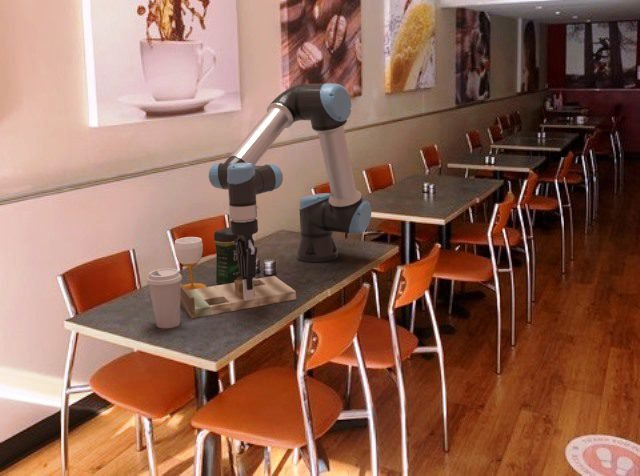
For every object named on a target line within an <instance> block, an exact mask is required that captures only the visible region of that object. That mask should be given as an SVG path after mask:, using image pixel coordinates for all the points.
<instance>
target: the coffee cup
mask: <svg viewBox="0 0 640 476" xmlns="http://www.w3.org/2000/svg"><path fill="white" fill-rule="evenodd" d="M182 279H183V277H182V274H181V273H180V272H179V270H178V269H177V268H169V267H168V268H158V269H155V270H154V269H153V270H152V271H149V273H148V276H147V278H146V284H148V288H149V293H150V299H151V304H152V309H153V313H154V314H153V315H154V320H155V324H156V328H159V329H172V328H176V327H178V326H180V325H181V304H180V283H181V281H182Z"/></svg>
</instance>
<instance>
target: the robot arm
mask: <svg viewBox="0 0 640 476" xmlns="http://www.w3.org/2000/svg"><path fill="white" fill-rule="evenodd" d="M351 108H352V101H351V97H350V94H349V92H348V90H347V89H346V88H345V87H344V86H343V85H341V84H339V83H331V82H326V83H300V84H295V85H293V86H291V87H289V88H287V89H286V90H284V91H282V92H281V93H280V94H279V95H278V96H277V97H276V98H274V100H273V101H272V102H270V104H269V105H268V106H267V108H266V113H265V115H264V116H263V117H262V118H261V119H260V120H259V121H258V123H257V124H256V125H255V126H254V127H253V129H252V130H250V132H249V133H248V135H247V136H246V137H245V138H244V139H243V140H242V141H241V142H240V144H238V146H237V147H236V149H234V150H233V152H232V153H231V154H230V155H229V157H228V158H227V159H226V160H225V162H219V163H214V164H212V165H211V167H210V168H209V171H208V179H209V181H208V182H210V185H211V186H212V187H214V188H216V189H220V190H228V202H229V203H228V207H229V209H228V211H229V218H230V220H231V221H230V227H231V233H232V234H234V235H237V239H235V240H234V242H235V246H236V252H237V259H238V266H239V273H241V276H242V281H243V296H244V300H245V301H248V300H253V299H254V286H253V279H256V276H257V254H258V247H256V246H255V239H253V235H255V234H257V233H258V231H259V227H258V219H257V217H258V212H257V210H258V209H259V206H258V205H257V195H261V194H264V193H268V192H273V191H274V190H276V189H279V188H280V187H281V186H282V184H283V180H284V176H283V171H282V170H281V168H280V167H279V166H277V165H276V164H273V163H272V164H264V165H256V164H258V162H259V161H260V160H261V158H262V157H263V156H264V155H265V153H266V152H267V151H268V150H269V148H270V147H271V146H272V145H273V144H274V143H275V141H276V140H277V139H278V137H279V136H280V135H282V132H284V130H285V129H288V128H290V127H291V126H292V125H293V124H294V123H296V122H299V121H310V124H311V128H312V130H313V131H314V132H317V134H318V139H319V143H320V148H321V152H322V157H323V158H322V159H323V162H324V166H325V171H326V174H327V179H328V180H327V181H328V183H329V188H330V189H329V190H330V193H329V192H327V193H326V192H325V193H315V194H310V195H306V196H303V197H301V198H300V200H299V208H298V210H299V223H300V227H299V228H300V229H299V230H300V239H299V243H298V246H297V249H296V258H297V260H299V261H300V262H306V263H325V262H330V261H334V260H336V259H337V258H338V257H339V249H338V247H337V245H336V241H335V239H334V236H333V232H335V233H341V234H343V233H345V234H350V235H361V234H363V233H365V231H366V230H367V228H368V227H369V225H370V222H371V217H372V207H371V204H370V202H369V201H367V200H366V201H365V200H363V195H362V193H361V191H359V190H357V188H356V182H355V177H354V173H353V168H352V162H351V158H350V153H349V149H348V148H349V147H348V143H347V138H346V132H345V128H344V127H345V125H347V123H348V119H349V117H350V116H351V112H352V109H351Z"/></svg>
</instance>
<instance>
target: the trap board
mask: <svg viewBox="0 0 640 476" xmlns="http://www.w3.org/2000/svg"><path fill="white" fill-rule="evenodd" d="M253 282H254V299H253V300H248V301H245V300H244V298H242V299H240V298H239V297H237V296H236V295H235V284H234V283H229V284H223V285H219V284H217V285H212V286H206V287H205V288H199V289H193V290H187V289H186V288H185V287H184V286H183V285H184V284H182V282H180V306H182V308H183V309H184V310H185V311H186V313H187V314H188V315H189V317H190V318H191V319H197V318H201V317H209V316H212V315H213V316H214V315H219V314H225V313H229V312H234V311H240V310H245V309H250V308H251V309H252V308H257V307H261V306H267V305H272V304H276V303H277V304H278V303H284V302H289V301H293V300H297V291H296V290H294V289H293V288H292V287H290V285H288V284H286V283H285V282H283V281H282V280H280V279H279V277H276V276H275V275H272V276H265V277H260V278H253Z"/></svg>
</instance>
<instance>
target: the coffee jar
mask: <svg viewBox="0 0 640 476" xmlns="http://www.w3.org/2000/svg"><path fill="white" fill-rule="evenodd" d="M235 239H237V235H234V234H232V233H231V226H228V227H225V228H222V229H218V230H215V232H214V233H213V243H214V246H215V253H216V254H215V255H216V258H215V259H216V262H215V263H216V267H215V271H216V273H215V278H216V280H215V281H216V284H217V285H223V284H229V283H234V280H238V279H242V276H241V273H239V266H238V259H237V252H236V246H235V242H234V240H235Z"/></svg>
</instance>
